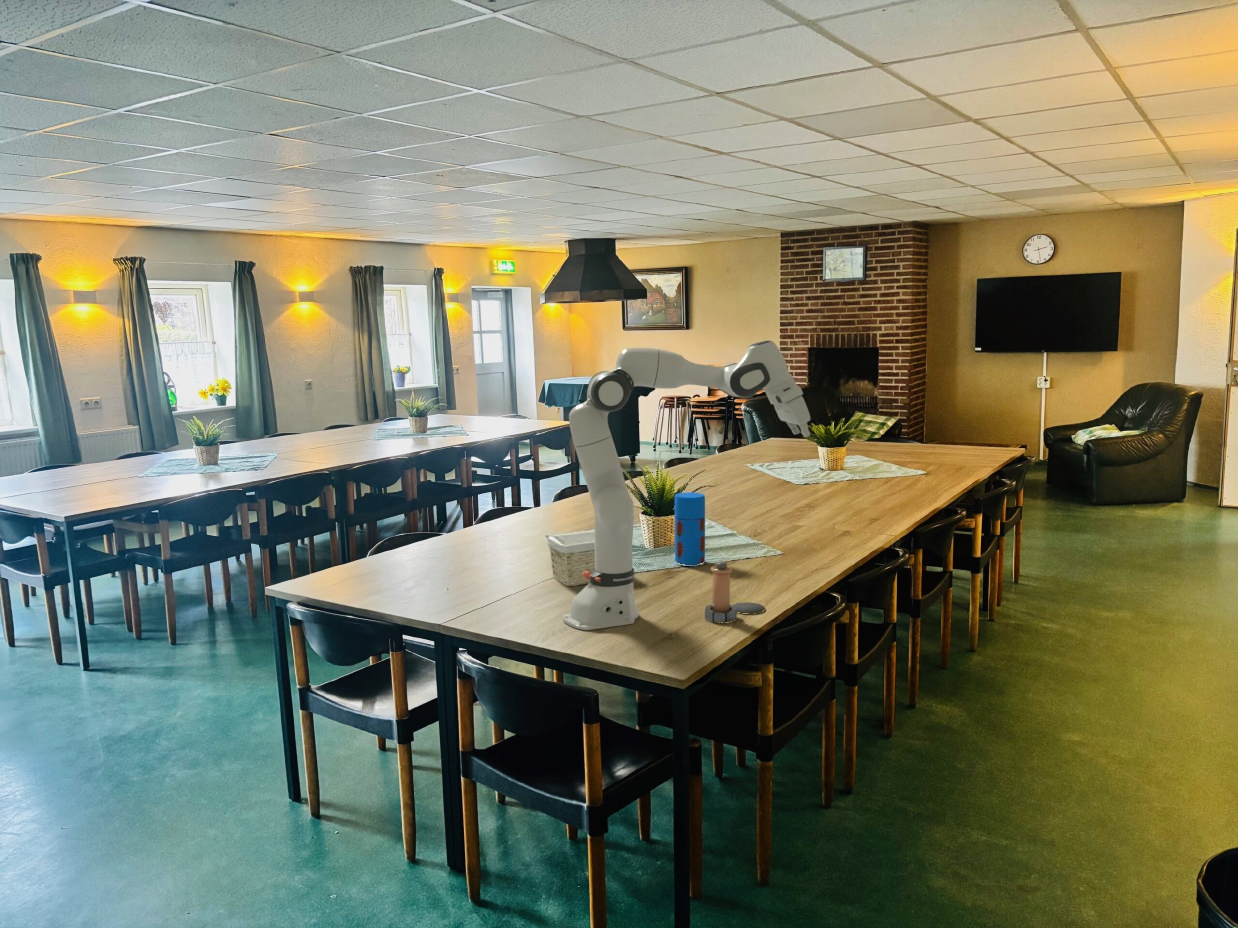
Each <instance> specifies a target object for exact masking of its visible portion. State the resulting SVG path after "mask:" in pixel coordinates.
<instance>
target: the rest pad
mask: <svg viewBox="0 0 1238 928" xmlns="http://www.w3.org/2000/svg"><path fill="white" fill-rule="evenodd" d="M731 605H732V606H735V607H737V612H740V613H749V614H753V613H759V612H762V611H763V610H764V609H765V606H764V605H762V604H760V603H756V602H736V603H734V604H731ZM765 610H766V609H765ZM762 613H763V612H762Z"/></svg>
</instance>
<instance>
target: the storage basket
mask: <svg viewBox="0 0 1238 928" xmlns="http://www.w3.org/2000/svg"><path fill="white" fill-rule="evenodd" d="M594 542H595V529H593V530H589V531H588V530H587V531H581V532H580V531H579V532H572V533H562V534H554V535H553V534H552V535H551V534H550V535H549V536H547V545H548V548H549V552H550V560H551V561H550V562H551V568H552V576H553V578H554V579H556V581H558V582H560V583H561V584H564V586H567V587H576V586H579V585H588V584H589V583H590V579H591V578H590V579H587V578H584V577H583V573H584V572H585V571H588V572H590V573H591V574H592V573H593V570H594V569H595V545H594Z"/></svg>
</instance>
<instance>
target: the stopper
mask: <svg viewBox="0 0 1238 928" xmlns="http://www.w3.org/2000/svg"><path fill="white" fill-rule="evenodd" d="M710 572H711V573H712V579H711V580H712V581H711V582H712V585H711V586H712V601H711V602H712V603H711V605H712V610H713V611H716V612H726V611H730V605H731V573H732V572H733V571H732V567H731V566H729V565H728V562H726V561H716V562H715V565H714V566H711V567H710Z"/></svg>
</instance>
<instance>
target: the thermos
mask: <svg viewBox="0 0 1238 928" xmlns="http://www.w3.org/2000/svg"><path fill="white" fill-rule="evenodd" d="M705 496H706V495H705V494H704V493H700V492H680V493H676V494H674V562H675V561H676V562H677V563H680V564H685V565H697V564H700V563H703V562H704V561H705V562H706V559H705V558H706V498H705ZM705 562H704V563H705Z"/></svg>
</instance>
